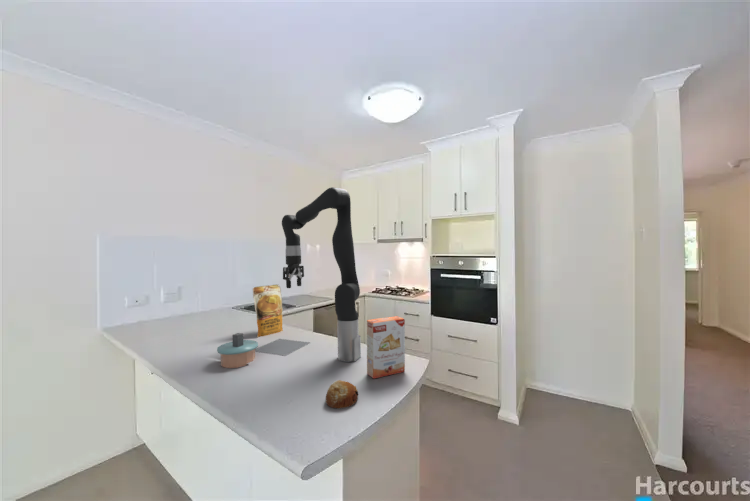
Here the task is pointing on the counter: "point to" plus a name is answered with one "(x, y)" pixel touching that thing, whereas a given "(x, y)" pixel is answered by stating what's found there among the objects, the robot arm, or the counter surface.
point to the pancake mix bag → (268, 309)
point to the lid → (237, 345)
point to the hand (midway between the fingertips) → (294, 287)
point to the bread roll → (341, 394)
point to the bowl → (237, 359)
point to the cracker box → (385, 346)
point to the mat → (281, 347)
